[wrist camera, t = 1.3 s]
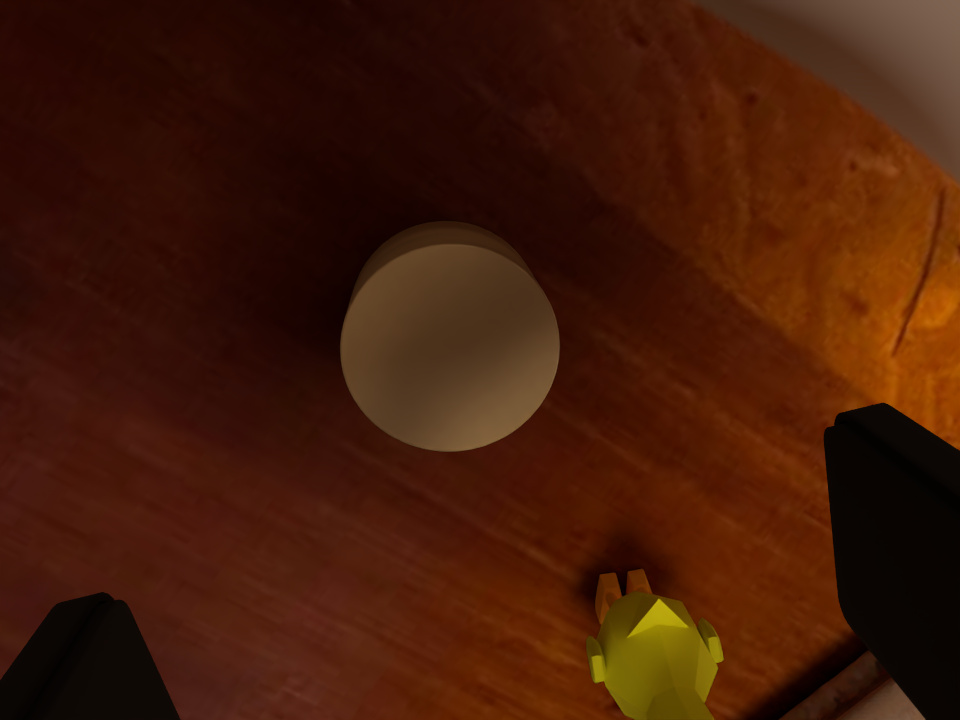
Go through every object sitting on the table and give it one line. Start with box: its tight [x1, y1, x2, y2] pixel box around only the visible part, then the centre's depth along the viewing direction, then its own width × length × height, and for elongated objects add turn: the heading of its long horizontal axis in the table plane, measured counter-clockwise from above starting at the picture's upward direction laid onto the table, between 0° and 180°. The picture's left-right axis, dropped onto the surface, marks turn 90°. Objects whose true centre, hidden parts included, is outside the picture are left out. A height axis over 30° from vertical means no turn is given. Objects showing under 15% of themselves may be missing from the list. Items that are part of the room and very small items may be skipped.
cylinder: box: [340, 221, 560, 451], centre depth 20 cm, size 5×5×3 cm
